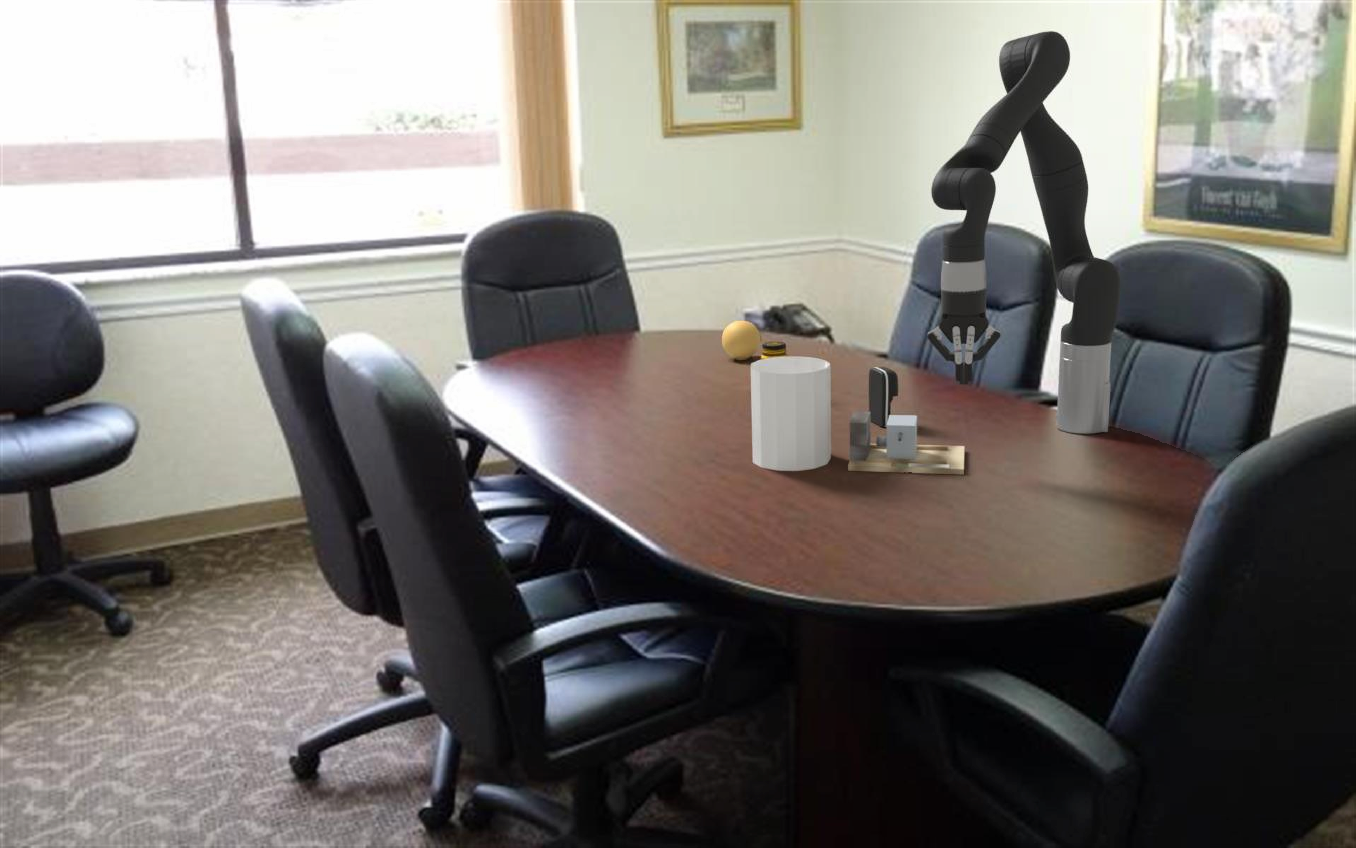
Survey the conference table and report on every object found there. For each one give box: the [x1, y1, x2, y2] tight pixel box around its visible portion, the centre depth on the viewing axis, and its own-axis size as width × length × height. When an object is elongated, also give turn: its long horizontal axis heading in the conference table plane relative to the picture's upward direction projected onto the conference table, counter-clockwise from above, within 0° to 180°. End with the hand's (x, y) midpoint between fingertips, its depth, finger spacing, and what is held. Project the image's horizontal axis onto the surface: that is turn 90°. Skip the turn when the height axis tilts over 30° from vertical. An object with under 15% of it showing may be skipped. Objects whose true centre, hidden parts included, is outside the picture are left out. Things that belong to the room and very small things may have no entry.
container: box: [750, 355, 832, 472], centre depth 217 cm, size 14×14×18 cm
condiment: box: [760, 340, 789, 360], centre depth 266 cm, size 7×8×12 cm
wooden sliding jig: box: [847, 410, 965, 475], centre depth 215 cm, size 20×14×8 cm
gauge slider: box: [875, 414, 918, 459], centre depth 213 cm, size 7×10×6 cm, turn 166°
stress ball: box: [721, 319, 762, 361], centre depth 303 cm, size 10×10×10 cm
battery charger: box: [868, 366, 899, 428], centre depth 239 cm, size 7×4×11 cm, turn 16°
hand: (963, 383), depth 209 cm, fingers closed
